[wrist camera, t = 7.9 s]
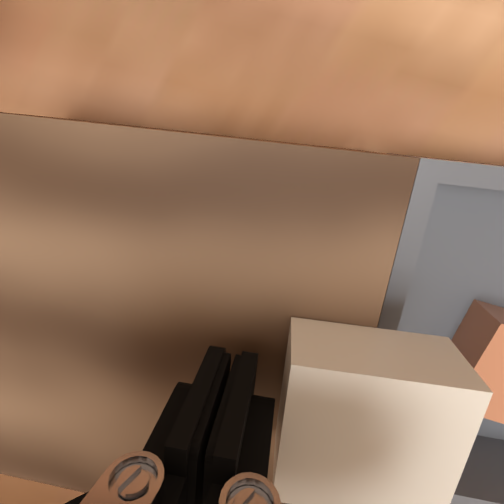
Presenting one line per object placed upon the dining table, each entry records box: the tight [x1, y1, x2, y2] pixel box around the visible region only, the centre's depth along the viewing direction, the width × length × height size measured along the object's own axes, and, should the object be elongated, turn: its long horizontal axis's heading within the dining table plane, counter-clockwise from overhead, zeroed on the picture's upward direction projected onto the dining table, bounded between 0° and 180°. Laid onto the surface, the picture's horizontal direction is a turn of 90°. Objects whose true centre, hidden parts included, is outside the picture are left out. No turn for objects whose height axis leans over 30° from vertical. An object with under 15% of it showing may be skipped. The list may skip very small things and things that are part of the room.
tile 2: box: [273, 317, 493, 504], centre depth 10 cm, size 5×5×2 cm
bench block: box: [0, 112, 420, 504], centre depth 16 cm, size 16×16×8 cm
